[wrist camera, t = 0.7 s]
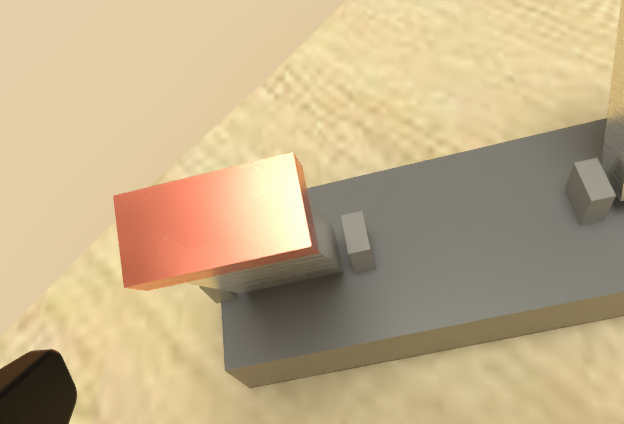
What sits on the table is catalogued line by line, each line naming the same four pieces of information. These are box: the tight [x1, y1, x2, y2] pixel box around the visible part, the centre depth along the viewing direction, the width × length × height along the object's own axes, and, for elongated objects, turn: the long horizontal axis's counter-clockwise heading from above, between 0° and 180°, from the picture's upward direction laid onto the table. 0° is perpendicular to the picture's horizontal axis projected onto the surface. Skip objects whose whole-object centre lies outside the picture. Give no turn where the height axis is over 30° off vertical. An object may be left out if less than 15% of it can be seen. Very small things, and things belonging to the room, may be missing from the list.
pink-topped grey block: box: [113, 152, 343, 293], centre depth 17 cm, size 2×4×9 cm, turn 98°
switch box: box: [199, 118, 624, 388], centre depth 22 cm, size 7×20×5 cm, turn 98°
